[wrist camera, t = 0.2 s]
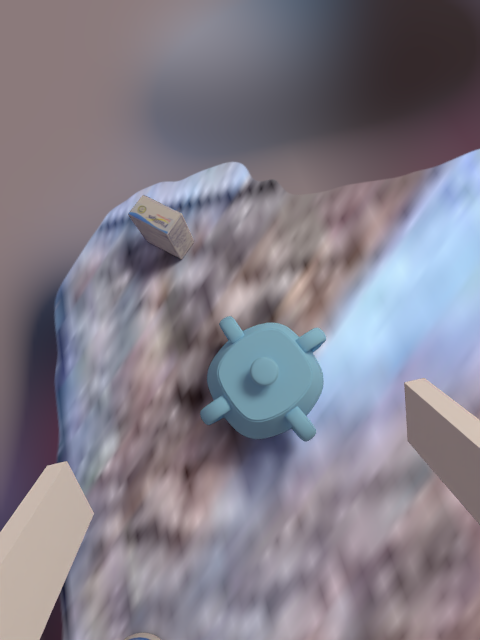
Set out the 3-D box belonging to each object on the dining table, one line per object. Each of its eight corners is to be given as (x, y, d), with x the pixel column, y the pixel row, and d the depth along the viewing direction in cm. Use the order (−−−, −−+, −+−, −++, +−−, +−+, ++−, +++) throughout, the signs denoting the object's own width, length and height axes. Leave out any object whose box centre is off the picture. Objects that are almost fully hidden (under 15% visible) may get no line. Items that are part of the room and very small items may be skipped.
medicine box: (195, 241, 55) (182, 212, 47) (181, 261, 54) (166, 234, 46) (160, 224, 57) (142, 192, 49) (147, 242, 56) (126, 213, 48)
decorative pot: (230, 319, 51) (218, 288, 38) (326, 345, 48) (349, 321, 35) (199, 417, 47) (174, 420, 34) (303, 450, 44) (318, 468, 31)
